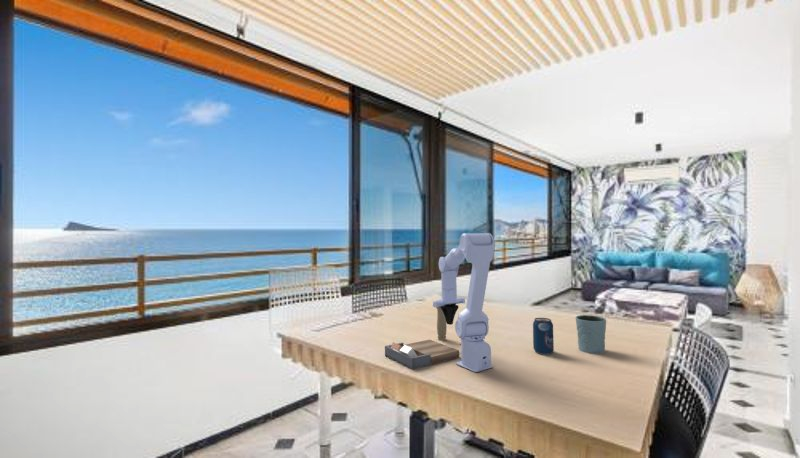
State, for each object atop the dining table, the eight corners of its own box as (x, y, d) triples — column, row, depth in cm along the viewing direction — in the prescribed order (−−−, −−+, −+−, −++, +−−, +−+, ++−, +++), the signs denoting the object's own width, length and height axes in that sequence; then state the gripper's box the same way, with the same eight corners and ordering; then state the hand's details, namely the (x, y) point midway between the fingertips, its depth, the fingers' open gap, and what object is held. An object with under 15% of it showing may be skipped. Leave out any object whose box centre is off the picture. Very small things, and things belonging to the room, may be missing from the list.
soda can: (550, 356, 128) (550, 322, 128) (530, 352, 132) (530, 319, 132) (556, 351, 133) (555, 318, 134) (536, 348, 138) (536, 316, 138)
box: (431, 364, 121) (431, 354, 121) (412, 369, 117) (411, 358, 117) (403, 351, 135) (403, 342, 136) (384, 355, 131) (384, 346, 131)
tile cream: (412, 348, 121) (407, 353, 120) (418, 357, 122) (413, 363, 121) (404, 344, 125) (399, 350, 123) (410, 354, 126) (406, 359, 125)
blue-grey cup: (599, 346, 139) (598, 315, 139) (612, 355, 129) (611, 321, 129) (572, 346, 140) (571, 314, 140) (582, 354, 130) (581, 320, 130)
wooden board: (459, 357, 128) (459, 350, 128) (431, 364, 121) (431, 357, 121) (429, 345, 142) (429, 339, 142) (403, 351, 135) (403, 345, 136)
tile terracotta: (399, 345, 127) (396, 351, 126) (409, 349, 129) (406, 356, 128) (393, 342, 130) (390, 348, 130) (402, 346, 132) (399, 353, 132)
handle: (448, 341, 148) (447, 304, 149) (433, 340, 150) (432, 303, 151) (450, 338, 153) (450, 302, 153) (435, 337, 155) (435, 301, 155)
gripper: (456, 285, 146) (456, 319, 146) (427, 288, 138) (428, 324, 138) (468, 287, 140) (469, 322, 140) (439, 290, 132) (440, 328, 132)
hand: (449, 324), depth 139 cm, fingers closed
